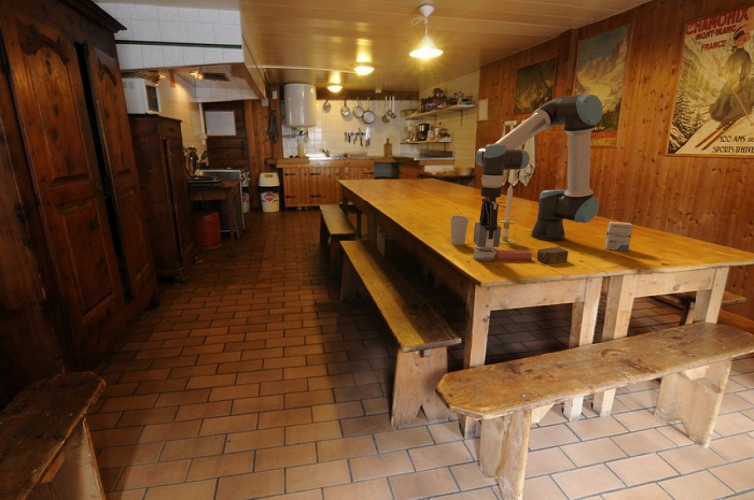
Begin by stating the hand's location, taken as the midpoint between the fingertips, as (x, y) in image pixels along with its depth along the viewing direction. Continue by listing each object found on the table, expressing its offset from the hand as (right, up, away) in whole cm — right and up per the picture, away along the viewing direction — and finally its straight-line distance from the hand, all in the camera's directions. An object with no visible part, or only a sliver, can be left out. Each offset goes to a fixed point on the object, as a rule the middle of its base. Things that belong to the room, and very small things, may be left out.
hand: (485, 243), depth 158 cm
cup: (-6, 0, +24) cm, 25 cm away
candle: (+16, +1, +28) cm, 33 cm away
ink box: (+63, -2, +19) cm, 65 cm away
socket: (0, 0, 0) cm, 0 cm away
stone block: (+26, -7, 0) cm, 27 cm away
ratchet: (+7, -6, +2) cm, 9 cm away
